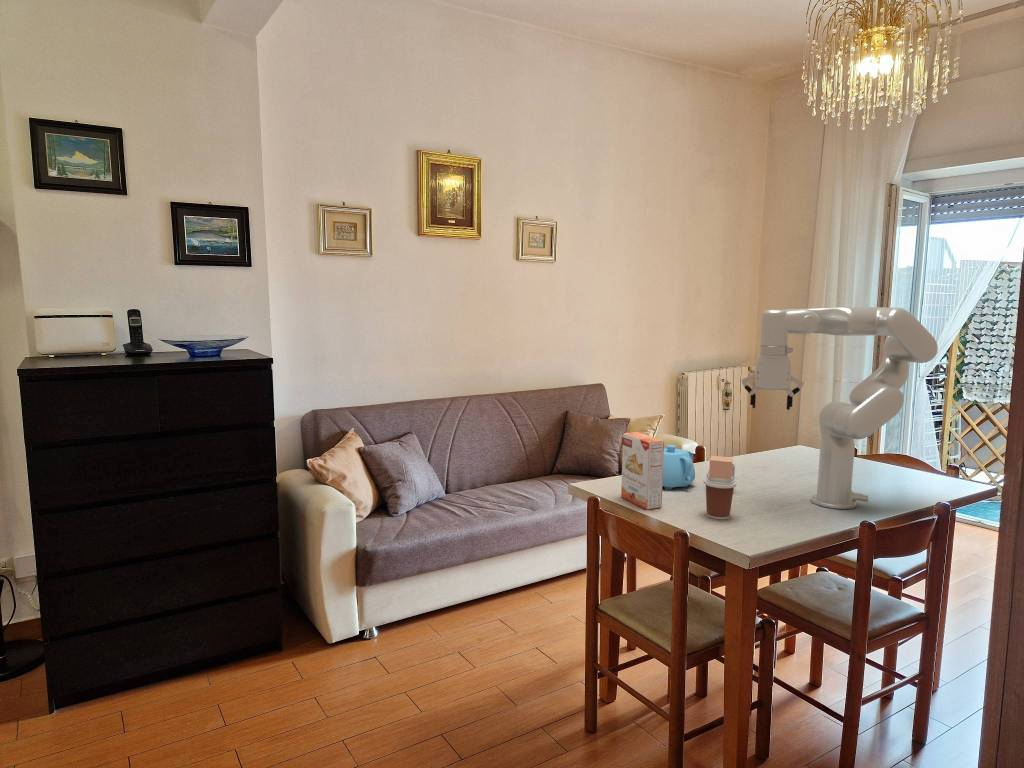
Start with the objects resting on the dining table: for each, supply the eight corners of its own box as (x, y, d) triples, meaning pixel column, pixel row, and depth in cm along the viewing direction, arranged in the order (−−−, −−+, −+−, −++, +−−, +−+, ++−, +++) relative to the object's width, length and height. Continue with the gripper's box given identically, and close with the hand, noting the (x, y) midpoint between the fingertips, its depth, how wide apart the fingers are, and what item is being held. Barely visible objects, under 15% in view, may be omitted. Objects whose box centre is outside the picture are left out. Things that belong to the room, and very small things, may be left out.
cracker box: (619, 497, 209) (622, 432, 206) (635, 495, 211) (638, 431, 209) (645, 510, 196) (648, 441, 193) (662, 508, 198) (665, 440, 196)
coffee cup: (701, 509, 198) (703, 470, 196) (733, 512, 195) (736, 473, 194) (701, 519, 189) (703, 478, 188) (735, 522, 187) (737, 481, 185)
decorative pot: (650, 476, 235) (652, 438, 233) (697, 481, 228) (699, 442, 227) (640, 488, 220) (641, 448, 218) (689, 494, 214) (691, 452, 212)
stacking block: (731, 474, 192) (732, 457, 192) (731, 479, 187) (732, 462, 186) (710, 472, 194) (711, 455, 194) (708, 477, 189) (709, 460, 188)
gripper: (804, 351, 197) (801, 408, 200) (742, 349, 203) (740, 405, 205) (806, 353, 190) (803, 412, 192) (742, 351, 196) (740, 408, 198)
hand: (770, 408), depth 199 cm, fingers open, 9 cm apart
